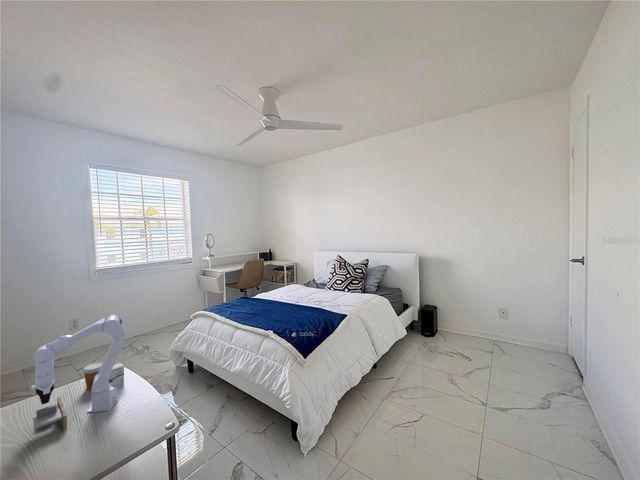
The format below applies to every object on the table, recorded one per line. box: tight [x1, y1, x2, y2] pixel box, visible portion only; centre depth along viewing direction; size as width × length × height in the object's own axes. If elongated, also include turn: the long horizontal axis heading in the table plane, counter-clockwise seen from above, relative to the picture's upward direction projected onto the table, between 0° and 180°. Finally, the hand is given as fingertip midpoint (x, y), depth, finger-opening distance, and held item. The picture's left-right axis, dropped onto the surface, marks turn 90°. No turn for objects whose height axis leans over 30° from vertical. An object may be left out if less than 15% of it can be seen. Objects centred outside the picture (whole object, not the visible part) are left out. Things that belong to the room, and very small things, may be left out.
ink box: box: [109, 362, 125, 389], centre depth 143 cm, size 9×5×12 cm, turn 143°
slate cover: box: [32, 403, 62, 430], centre depth 111 cm, size 8×8×4 cm
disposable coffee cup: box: [82, 361, 104, 391], centre depth 143 cm, size 10×10×12 cm
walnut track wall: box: [56, 395, 68, 431], centre depth 119 cm, size 20×1×6 cm, turn 51°
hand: (45, 402), depth 116 cm, fingers closed
